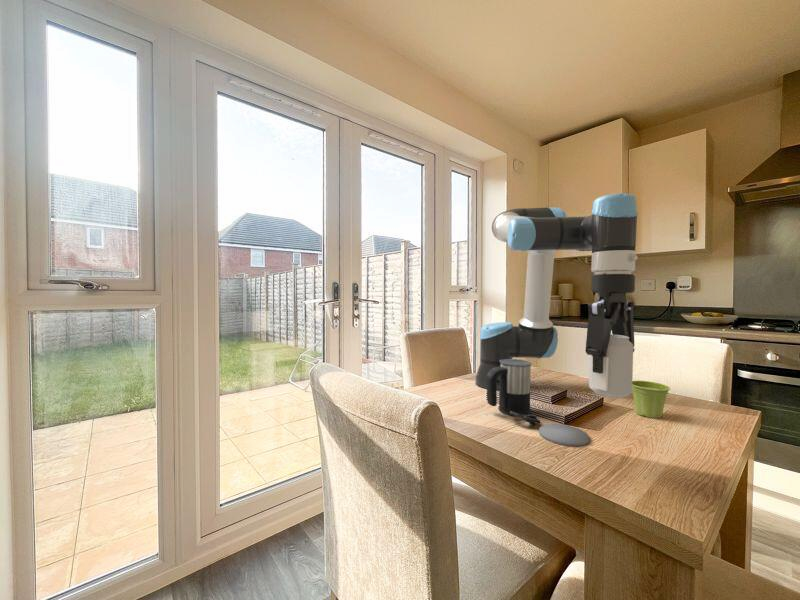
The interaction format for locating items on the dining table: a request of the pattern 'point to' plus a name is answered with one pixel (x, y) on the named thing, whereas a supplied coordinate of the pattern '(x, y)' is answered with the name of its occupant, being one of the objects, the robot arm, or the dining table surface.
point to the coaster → (564, 435)
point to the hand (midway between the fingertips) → (610, 385)
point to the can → (617, 368)
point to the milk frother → (512, 389)
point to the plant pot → (649, 398)
